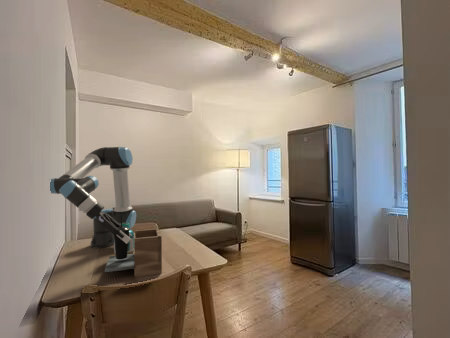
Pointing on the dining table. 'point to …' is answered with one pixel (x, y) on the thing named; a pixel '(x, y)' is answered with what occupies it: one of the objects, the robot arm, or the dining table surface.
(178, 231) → the dining table surface
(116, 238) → the drinking cup
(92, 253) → the dining table surface
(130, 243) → the vase
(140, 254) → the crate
